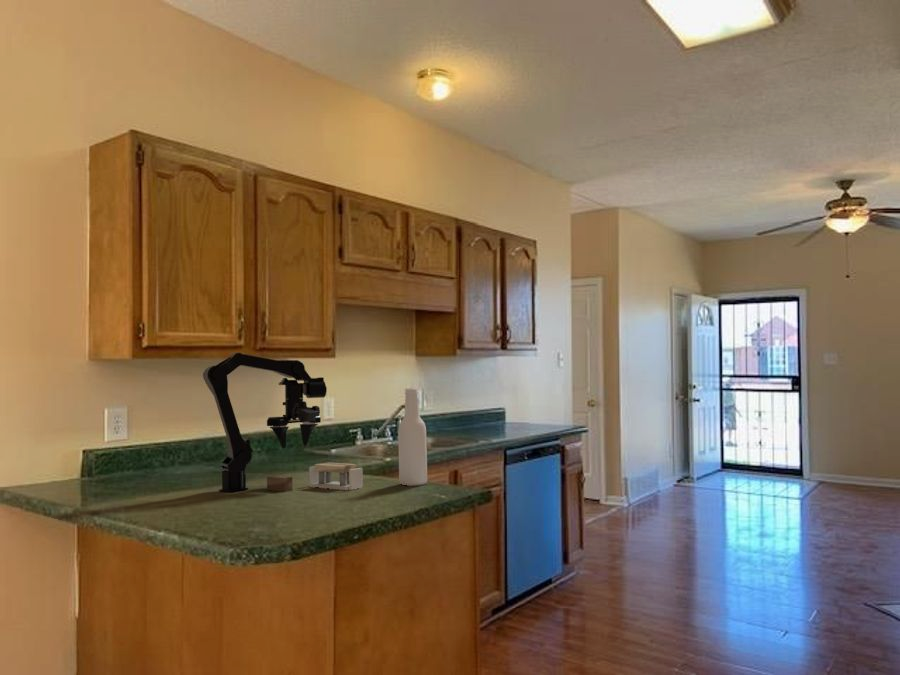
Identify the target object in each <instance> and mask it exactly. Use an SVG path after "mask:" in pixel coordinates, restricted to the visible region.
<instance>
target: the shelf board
mask: <svg viewBox="0 0 900 675" xmlns="http://www.w3.org/2000/svg"><path fill="white" fill-rule="evenodd" d="M314 466H315V471H322V472H324V473H326V472H332V473H337V474H338V473H339V474H340V473H346V474H347V472H349V470H351V469H356V468H357V464H356V463H344V462H343V463H342V462H341V463H340V462H321V463H316V464H314Z"/></svg>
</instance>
